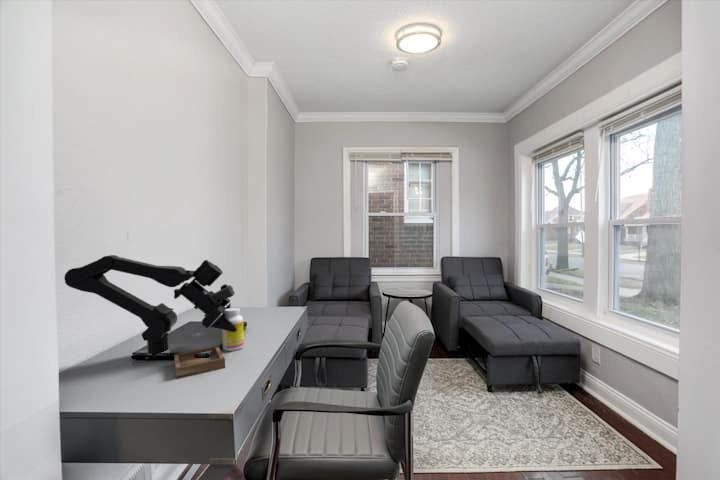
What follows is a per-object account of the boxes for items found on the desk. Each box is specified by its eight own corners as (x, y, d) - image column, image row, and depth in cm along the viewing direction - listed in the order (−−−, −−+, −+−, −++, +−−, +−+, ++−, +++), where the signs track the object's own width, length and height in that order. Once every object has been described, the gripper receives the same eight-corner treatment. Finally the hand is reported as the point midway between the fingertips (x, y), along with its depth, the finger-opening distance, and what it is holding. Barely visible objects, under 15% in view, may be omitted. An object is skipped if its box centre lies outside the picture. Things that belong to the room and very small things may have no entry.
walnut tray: (174, 363, 96) (174, 354, 96) (218, 354, 103) (218, 345, 103) (176, 378, 86) (176, 368, 86) (225, 367, 92) (224, 358, 92)
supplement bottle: (248, 346, 109) (247, 308, 108) (231, 353, 103) (229, 312, 103) (235, 343, 112) (234, 306, 112) (218, 349, 107) (216, 310, 106)
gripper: (212, 282, 97) (252, 316, 100) (222, 274, 115) (256, 303, 118) (184, 311, 95) (225, 344, 98) (199, 298, 114) (234, 326, 117)
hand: (237, 327), depth 108 cm, fingers closed on supplement bottle, 7 cm apart
